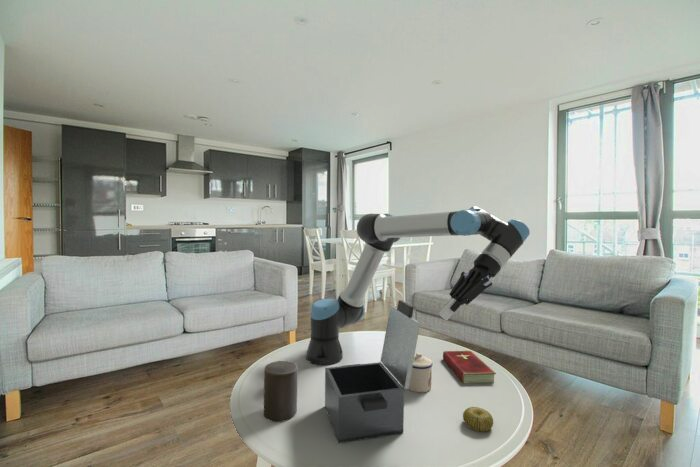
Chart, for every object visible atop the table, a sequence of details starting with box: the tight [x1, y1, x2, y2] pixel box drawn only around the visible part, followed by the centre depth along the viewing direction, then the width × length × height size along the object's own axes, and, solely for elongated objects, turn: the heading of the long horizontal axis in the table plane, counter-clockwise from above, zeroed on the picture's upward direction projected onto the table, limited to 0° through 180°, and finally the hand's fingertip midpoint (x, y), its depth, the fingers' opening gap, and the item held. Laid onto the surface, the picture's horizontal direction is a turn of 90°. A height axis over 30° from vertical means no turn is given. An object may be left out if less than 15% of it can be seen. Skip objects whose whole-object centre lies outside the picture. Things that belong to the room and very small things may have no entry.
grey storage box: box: [324, 361, 405, 444], centre depth 98 cm, size 24×18×12 cm
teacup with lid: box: [408, 352, 433, 393], centre depth 119 cm, size 12×9×12 cm
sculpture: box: [462, 406, 494, 432], centre depth 96 cm, size 8×4×8 cm
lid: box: [380, 299, 421, 390], centre depth 100 cm, size 18×21×1 cm
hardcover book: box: [442, 350, 497, 384], centre depth 131 cm, size 12×21×4 cm, turn 4°
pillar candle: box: [263, 360, 299, 423], centre depth 101 cm, size 10×10×15 cm
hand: (442, 317), depth 102 cm, fingers closed
